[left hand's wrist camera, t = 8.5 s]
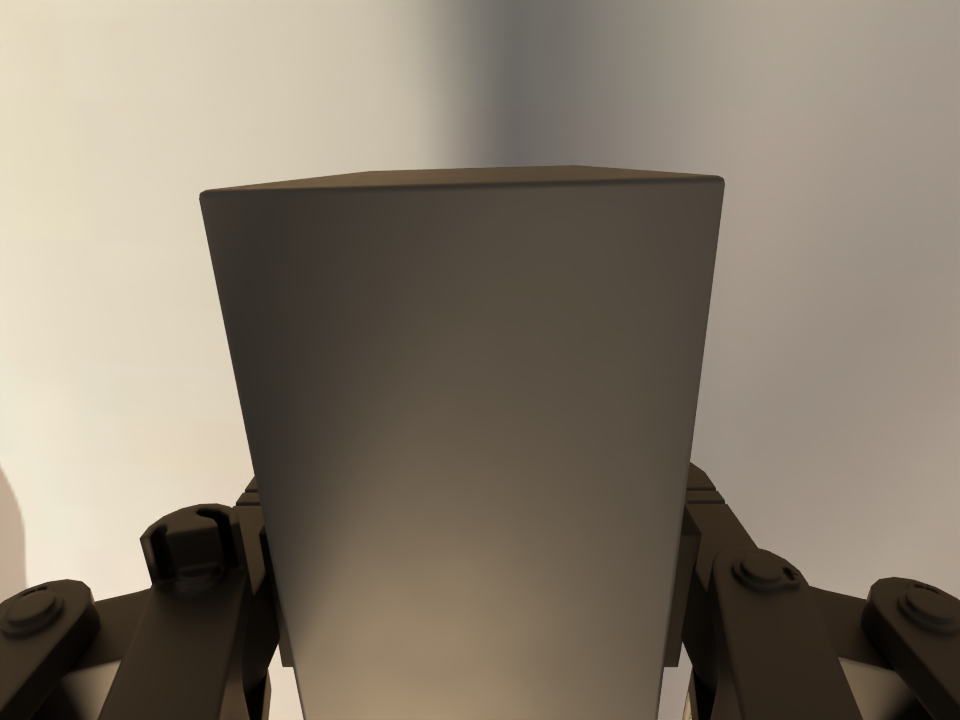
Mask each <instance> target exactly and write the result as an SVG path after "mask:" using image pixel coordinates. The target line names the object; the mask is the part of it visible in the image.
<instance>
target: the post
mask: <svg viewBox="0 0 960 720" xmlns="http://www.w3.org/2000/svg"><path fill="white" fill-rule="evenodd" d="M724 187H725V183H724V179H723V178H722V177H719V176H715V175H701V174H687V173H673V172H659V171H645V170H631V169H617V168H603V167H589V166H575V165H571V166H536V167H500V168H465V169H429V170H393V171H368V172H359V173H350V174H342V175H333V176H324V177H315V178H307V179H298V180H289V181H280V182H272V183H263V184H254V185H245V186H237V187H228V188H219V189H210V190H205V191H203V192H201V193H200V197H199V200H200V205H201V210H202V215H203V220H204V225H205V230H206V235H207V240H208V245H209V250H210V255H211V260H212V265H213V270H214V275H215V280H216V285H217V290H218V295H219V300H220V305H221V310H222V315H223V320H224V325H225V330H226V335H227V340H228V345H229V350H230V355H231V360H232V365H233V370H234V375H235V380H236V385H237V390H238V395H239V400H240V405H241V410H242V415H243V420H244V425H245V430H246V435H247V439H248V444H249V449H250V454H251V459H252V464H253V469H254V474H255V479H256V484H257V489H258V494H259V499H260V504H261V509H262V514H263V519H264V524H265V529H266V534H267V539H268V544H269V549H270V554H271V559H272V564H273V569H274V574H275V579H276V584H277V589H278V594H279V599H280V604H281V609H282V614H283V619H284V624H285V629H286V634H287V639H288V644H289V649H290V654H291V659H292V664H293V669H294V674H295V679H296V684H297V689H298V694H299V699H300V704H301V709H302V714H303V719H304V720H657V718H658V710H659V702H660V694H661V686H662V678H663V670H664V662H665V654H666V646H667V638H668V630H669V623H670V615H671V607H672V599H673V591H674V583H675V575H676V567H677V559H678V551H679V543H680V535H681V527H682V519H683V512H684V504H685V496H686V488H687V480H688V472H689V464H690V456H691V448H692V440H693V432H694V424H695V416H696V409H697V401H698V393H699V385H700V377H701V369H702V361H703V353H704V345H705V337H706V329H707V321H708V313H709V305H710V298H711V290H712V282H713V274H714V266H715V258H716V250H717V242H718V234H719V226H720V218H721V210H722V202H723V194H724Z"/></svg>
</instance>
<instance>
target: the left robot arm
mask: <svg viewBox="0 0 960 720" xmlns="http://www.w3.org/2000/svg"><path fill="white" fill-rule="evenodd" d="M140 542H141V545H142V549H143V553H144V556H145V560H146V563H147V567H148V571H149V574H150V578H151V581H152V586H151V588H149V589H146V590H143V591H139V592H135V593H131V594H127V595H122V596H118V597H114V598H109V599H105V600H100V601H96V602H95V601H94V598H93V595H92V592H91V589H90V588H89V587H88V586H87V585H86V584H84V583H83V582H82V581H76V580H69V579H65V580H58V581H51V582H46V583H43V584H40V585H37V586H34V587H31V588H28V589H26V590H24V591H22V592H20V593H18V594H16V595H14V596H12V597H10V598H9V599H7V600H5V601H3V602H2V603H1V604H0V720H268V718H269V709H270V699H271V683H270V676H269V671H268V667H269V664H270V662H271V660H272V657H273V655H274V652H275V650H276V647H277V645H278V644H279V650H280V655H281V661H282V666H283V667H293V664H292V659H291V654H290V649H289V644H288V639H287V634H286V629H285V624H284V619H283V614H282V609H281V604H280V599H279V594H278V589H277V584H276V579H275V574H274V569H273V564H272V559H271V554H270V549H269V544H268V539H267V534H266V529H265V524H264V519H263V514H262V509H261V504H260V499H259V494H258V489H257V484H256V479H255V476H254V477H253V479H252V480H251V482H250V483H249V485H248V486H247V488H246V489H245V493H242V495H241V496H240V498H239V499H238V500H237V502H236V506H233V508H231V507H229V506H225V505H221V504H217V503H216V504H198V505H194V506H190V507H186V508H182V509H179V510H177V511H175V512H172V513H170V514H168V515H166V516H163V517H162V518H161V519H159V520H158V521H156V522H155V523H154V524H152V525H151V526H149V527H148V529H147V530H146V531H145V532H144V534H143V535H142V536H141V537H140ZM682 641H683V644H684V646H685V648H686V651H687V653H688V656H689V658H690V661H691V663H692V665H693V666H692V671H691V676H690V682H689V687H688V692H687V697H686V702H685V707H684V713H683V720H690V719H691V717H692V720H960V600H959V599H957V598H955V597H953V596H952V595H950V594H948V593H946V592H944V591H942V590H940V589H938V588H936V587H934V586H931V585H928V584H925V583H922V582H919V581H916V580H912V579H905V578H898V577H891V578H884V579H879V580H878V581H877V582H875V583H874V584H873V585H872V586H871V588H870V591H869V594H868V597H867V600H866V599H861V598H857V597H852V596H848V595H844V594H839V593H835V592H830V591H826V590H822V589H819V588H815V587H812V586H809V585H808V583H807V581H806V580H805V578H804V577H803V575H802V574H801V572H800V571H799V570H798V569H797V568H795V567H794V566H793V565H792V564H790V563H789V562H788V561H787V560H785V559H783V558H781V557H779V556H777V555H775V554H773V553H771V552H769V551H767V550H763V549H759V548H758V547H757V546H756V545H755V543H754V542H753V540H752V539H751V537H750V536H749V535H748V533H747V532H746V530H745V529H744V527H743V526H742V525H741V523H740V522H739V520H738V519H737V517H736V516H735V515H734V513H733V512H732V510H731V509H730V507H729V506H728V505H727V504H725V500H724V499H723V498H722V496H721V495H720V493H719V492H718V491H716V488H715V486H714V485H713V483H712V482H711V480H710V479H709V478H708V476H707V475H706V473H705V472H704V471H702V470H701V469H699V468H698V467H697V466H695V465H694V464H692V463H691V462H690V464H689V472H688V480H687V488H686V496H685V504H684V512H683V519H682V527H681V535H680V543H679V551H678V559H677V567H676V575H675V583H674V591H673V599H672V607H671V615H670V623H669V630H668V638H667V646H666V654H665V662H664V667H678V663H679V658H680V652H681V647H682Z"/></svg>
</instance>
